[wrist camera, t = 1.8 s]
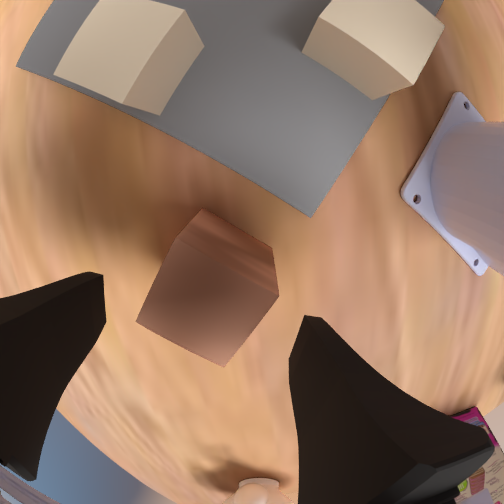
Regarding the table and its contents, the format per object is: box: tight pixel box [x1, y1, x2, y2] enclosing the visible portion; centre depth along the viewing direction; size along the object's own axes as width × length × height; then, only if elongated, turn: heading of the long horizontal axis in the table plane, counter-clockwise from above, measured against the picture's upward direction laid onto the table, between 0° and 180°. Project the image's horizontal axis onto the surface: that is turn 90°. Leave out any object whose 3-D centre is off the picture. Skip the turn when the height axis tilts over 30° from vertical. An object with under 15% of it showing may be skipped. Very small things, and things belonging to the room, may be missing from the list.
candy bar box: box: [450, 407, 504, 504], centre depth 14 cm, size 11×5×16 cm, turn 89°
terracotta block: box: [136, 208, 279, 367], centre depth 12 cm, size 4×4×5 cm
